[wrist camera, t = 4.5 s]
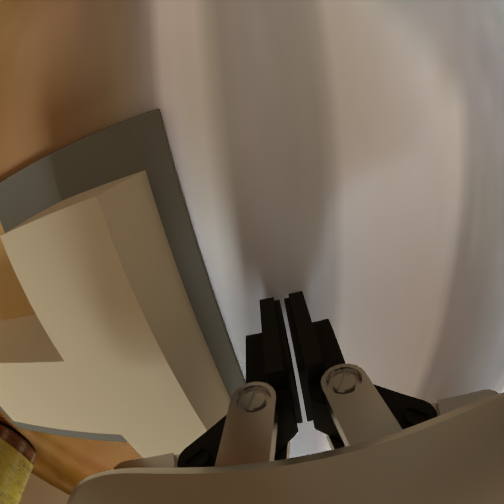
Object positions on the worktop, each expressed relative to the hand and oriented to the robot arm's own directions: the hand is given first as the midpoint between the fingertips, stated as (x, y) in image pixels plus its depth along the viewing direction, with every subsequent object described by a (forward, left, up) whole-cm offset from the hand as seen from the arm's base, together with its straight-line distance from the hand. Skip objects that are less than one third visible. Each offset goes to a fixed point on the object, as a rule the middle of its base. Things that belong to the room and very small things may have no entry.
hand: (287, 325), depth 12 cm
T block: (+10, 0, -1) cm, 10 cm away
